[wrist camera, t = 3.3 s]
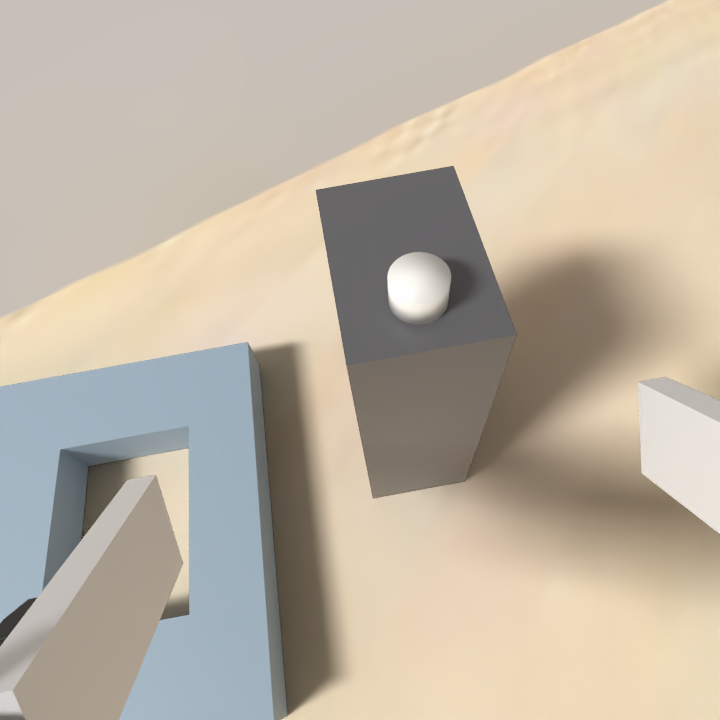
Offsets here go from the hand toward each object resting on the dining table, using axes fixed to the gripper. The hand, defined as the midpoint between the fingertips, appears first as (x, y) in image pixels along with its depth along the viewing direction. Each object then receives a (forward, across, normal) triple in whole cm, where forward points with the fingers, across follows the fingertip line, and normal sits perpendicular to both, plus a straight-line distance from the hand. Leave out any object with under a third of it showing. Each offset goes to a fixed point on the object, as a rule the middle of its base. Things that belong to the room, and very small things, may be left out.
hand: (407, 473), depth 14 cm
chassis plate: (+10, -15, -6) cm, 18 cm away
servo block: (+12, +1, -4) cm, 12 cm away
